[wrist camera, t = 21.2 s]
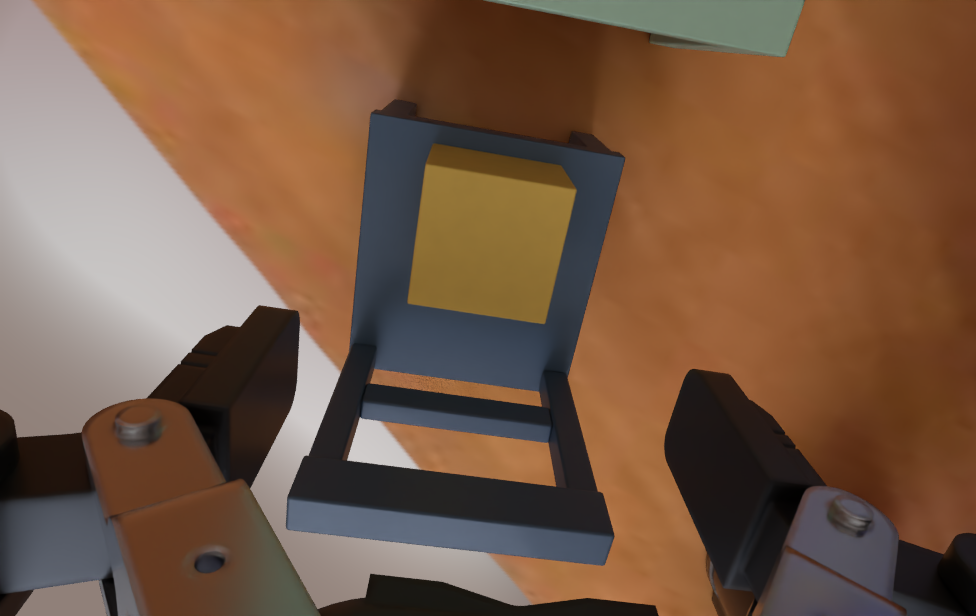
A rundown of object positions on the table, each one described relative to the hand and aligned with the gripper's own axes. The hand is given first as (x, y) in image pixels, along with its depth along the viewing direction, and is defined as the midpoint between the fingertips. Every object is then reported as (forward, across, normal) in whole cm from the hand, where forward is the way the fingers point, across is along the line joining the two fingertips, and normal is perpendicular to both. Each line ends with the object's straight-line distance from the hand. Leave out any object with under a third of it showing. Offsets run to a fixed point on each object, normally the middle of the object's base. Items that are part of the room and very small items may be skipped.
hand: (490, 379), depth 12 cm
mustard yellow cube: (+11, 0, 0) cm, 11 cm away
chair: (+17, 0, +2) cm, 17 cm away
